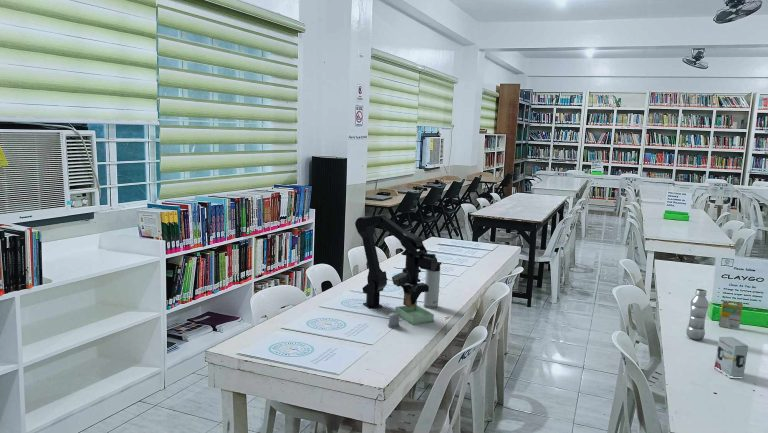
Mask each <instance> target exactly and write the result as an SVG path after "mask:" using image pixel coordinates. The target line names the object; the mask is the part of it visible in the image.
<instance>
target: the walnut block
mask: <svg viewBox="0 0 768 433" xmlns="http://www.w3.org/2000/svg"><path fill="white" fill-rule="evenodd" d="M417 301H418V299H417V300H416V302H415V304H414V305H412V304H411V292H408V293H404V292H403V302H402V303H403V305H402V306H407V307H415V306H416V305H418V304H417Z"/></svg>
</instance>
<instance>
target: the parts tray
mask: <svg viewBox="0 0 768 433" xmlns="http://www.w3.org/2000/svg"><path fill="white" fill-rule="evenodd" d="M394 308H395V309H394V310H395V312H394V313H398V314H399V316H400V317H399V318H401V317H402V319H403V320H404V321H405V322H408V323H409V324H411V325H418V324H419V325H420V324H425V323H426V324H427V323H431V322H434V317H435V314H434V313H432V312H431V311H429V310H427V309H425V308H424V307H422V306H419V305H418V304H417V305H416V306H415V307H407V306H405V305H401V306H400V305H399V306H395V307H394Z"/></svg>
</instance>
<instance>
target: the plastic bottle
mask: <svg viewBox="0 0 768 433" xmlns="http://www.w3.org/2000/svg"><path fill="white" fill-rule="evenodd" d="M706 296H707V290H706V289H703V288H696V291H695V295H694V297H693V298H691V300H690V314H689V321H688V325H687V327H686V336H687V338H689V339H692V340H696V341H698V340H699V341H700V340H703V339H704V338H705V334H706V333H705V332H706V329H705V323H706V321H705V320H706V316H707V312H708V309H709V306H710V303H709V301H708V299H707V297H706Z"/></svg>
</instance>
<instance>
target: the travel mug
mask: <svg viewBox="0 0 768 433" xmlns="http://www.w3.org/2000/svg"><path fill="white" fill-rule="evenodd" d="M441 265H442V262H441V261H440V262H439V261H438V265H437V268H436V270H435V271H430V270H425V277H424V278H425V279H424V283H425V284H427V285H428V286H429V292H423V293H424V294H423V295H424V297H423V306H424V307H425V308H426V309H433V310H434V309H437V308H439V298H440V297H439V296H440V295H439V293H440V278H441V277H440V276H441ZM424 307H423V308H424Z"/></svg>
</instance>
